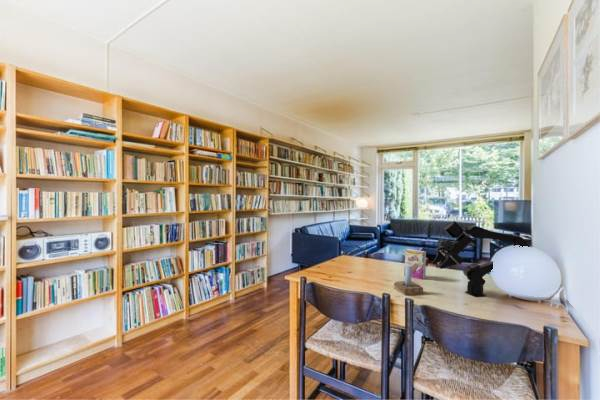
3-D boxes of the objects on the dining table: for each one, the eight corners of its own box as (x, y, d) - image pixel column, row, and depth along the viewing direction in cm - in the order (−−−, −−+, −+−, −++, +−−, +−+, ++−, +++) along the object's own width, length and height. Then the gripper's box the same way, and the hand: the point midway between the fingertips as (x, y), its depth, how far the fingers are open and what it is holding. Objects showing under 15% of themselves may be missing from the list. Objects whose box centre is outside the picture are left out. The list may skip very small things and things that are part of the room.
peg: (407, 290, 145) (407, 265, 145) (412, 292, 142) (412, 266, 142) (403, 291, 143) (403, 266, 143) (408, 293, 141) (408, 267, 141)
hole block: (411, 288, 149) (411, 281, 149) (423, 294, 139) (423, 287, 139) (394, 289, 147) (394, 282, 147) (405, 296, 137) (405, 288, 137)
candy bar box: (404, 276, 170) (404, 249, 170) (407, 274, 174) (407, 248, 174) (422, 280, 163) (423, 252, 162) (426, 278, 166) (426, 251, 166)
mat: (410, 281, 161) (410, 280, 161) (421, 286, 151) (421, 285, 151) (394, 282, 159) (394, 281, 159) (404, 287, 149) (404, 287, 149)
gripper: (440, 230, 151) (419, 250, 152) (456, 235, 132) (431, 258, 133) (455, 245, 150) (434, 265, 151) (473, 252, 131) (448, 275, 133)
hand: (436, 265), depth 142 cm, fingers open, 9 cm apart
